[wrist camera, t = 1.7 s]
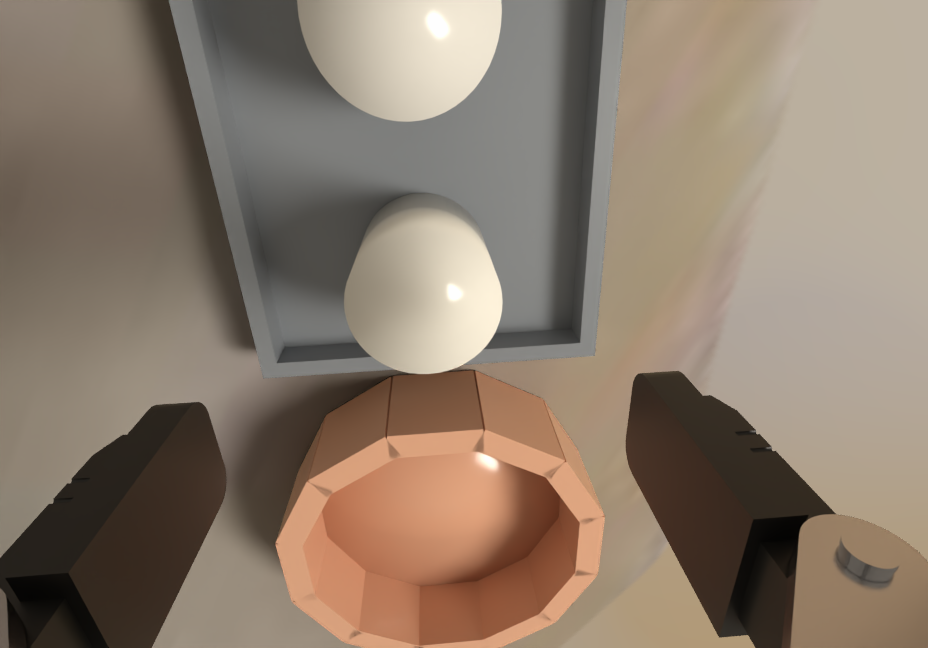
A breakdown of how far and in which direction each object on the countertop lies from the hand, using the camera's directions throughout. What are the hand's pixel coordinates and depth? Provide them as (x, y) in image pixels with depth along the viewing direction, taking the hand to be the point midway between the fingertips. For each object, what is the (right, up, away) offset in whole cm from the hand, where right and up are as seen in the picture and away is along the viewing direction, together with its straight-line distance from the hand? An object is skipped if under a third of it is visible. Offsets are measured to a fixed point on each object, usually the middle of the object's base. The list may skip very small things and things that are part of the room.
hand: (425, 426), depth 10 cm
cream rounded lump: (-1, +4, +9) cm, 10 cm away
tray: (-1, +8, +8) cm, 11 cm away
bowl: (0, -6, +15) cm, 16 cm away
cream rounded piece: (-1, +11, +5) cm, 12 cm away
